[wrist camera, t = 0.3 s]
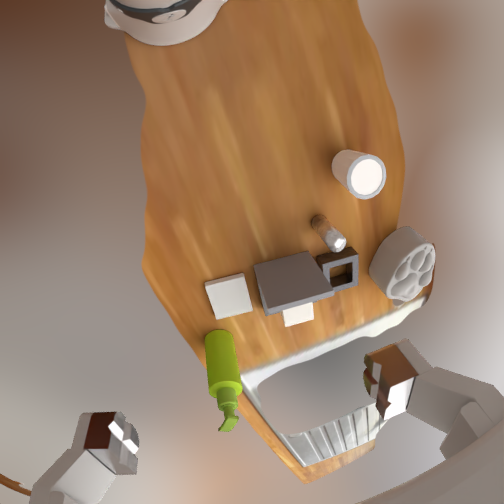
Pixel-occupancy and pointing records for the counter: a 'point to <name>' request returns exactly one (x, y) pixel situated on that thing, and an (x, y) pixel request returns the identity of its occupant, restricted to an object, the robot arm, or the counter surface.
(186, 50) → the counter surface
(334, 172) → the white faceted tapered cup
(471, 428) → the robot arm
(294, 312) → the block
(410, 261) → the lumpy-topped squat cylinder
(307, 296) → the grey device stand
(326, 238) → the rod
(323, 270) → the rod bracket
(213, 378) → the soap dispenser
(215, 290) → the plate
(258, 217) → the counter surface
